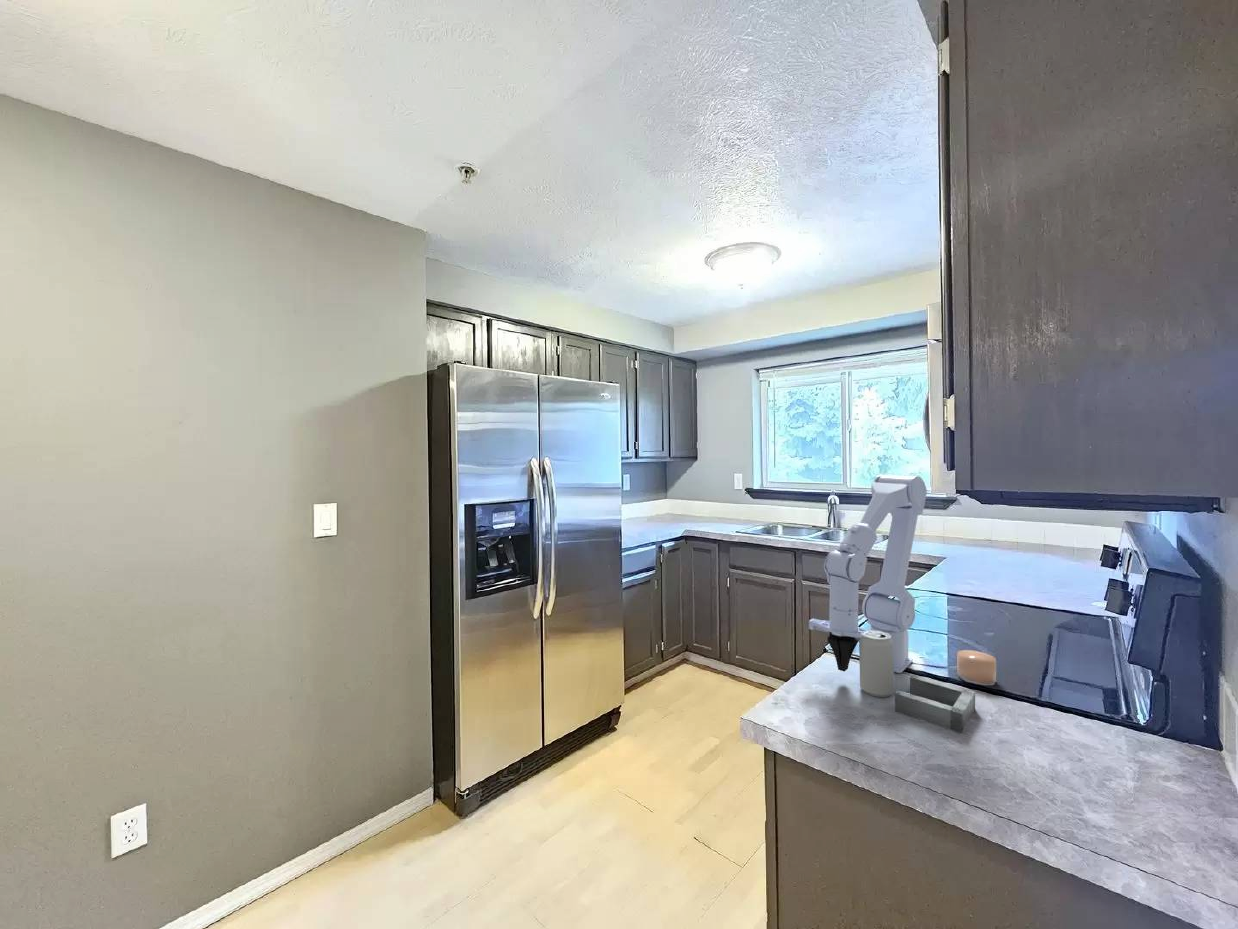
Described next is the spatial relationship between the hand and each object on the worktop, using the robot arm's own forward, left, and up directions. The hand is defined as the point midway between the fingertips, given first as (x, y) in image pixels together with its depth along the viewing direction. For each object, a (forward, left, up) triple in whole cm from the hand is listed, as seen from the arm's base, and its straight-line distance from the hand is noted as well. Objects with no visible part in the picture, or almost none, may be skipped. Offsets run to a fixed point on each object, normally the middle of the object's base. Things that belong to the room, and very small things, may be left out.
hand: (843, 669), depth 113 cm
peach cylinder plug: (-21, +21, -3) cm, 30 cm away
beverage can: (0, +7, -3) cm, 7 cm away
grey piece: (0, +18, -3) cm, 18 cm away
